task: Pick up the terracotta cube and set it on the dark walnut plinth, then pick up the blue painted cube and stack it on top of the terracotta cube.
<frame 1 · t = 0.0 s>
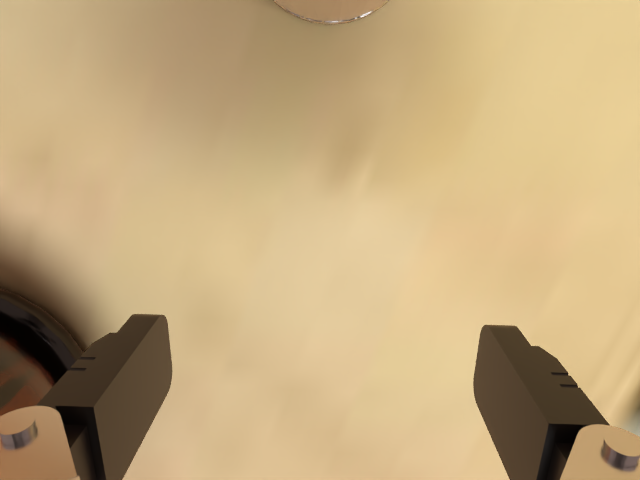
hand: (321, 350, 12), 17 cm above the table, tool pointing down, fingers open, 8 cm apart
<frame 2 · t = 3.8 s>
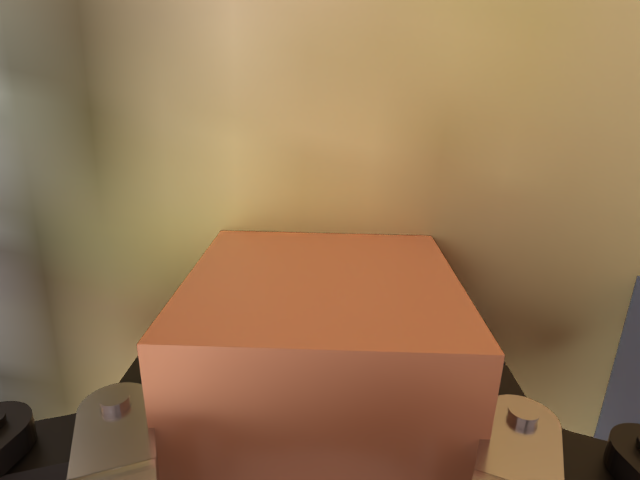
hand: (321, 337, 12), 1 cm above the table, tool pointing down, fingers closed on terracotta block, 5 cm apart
terracotta block: (323, 326, 13), on the table, touching gripper
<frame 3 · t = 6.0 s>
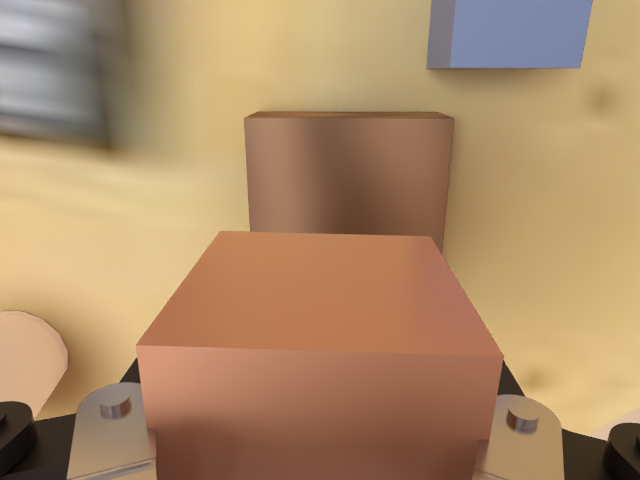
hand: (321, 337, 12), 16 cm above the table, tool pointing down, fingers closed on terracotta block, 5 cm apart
plinth: (345, 199, 28), on the table
terracotta block: (322, 326, 13), point 15 cm above the table, touching gripper
foam cup: (24, 349, 32), on the table
blue block: (483, 12, 24), on the table
when the fingers open (5 cm above the table, at t = 8.4 s): terracotta block stays where it is, resting on plinth.
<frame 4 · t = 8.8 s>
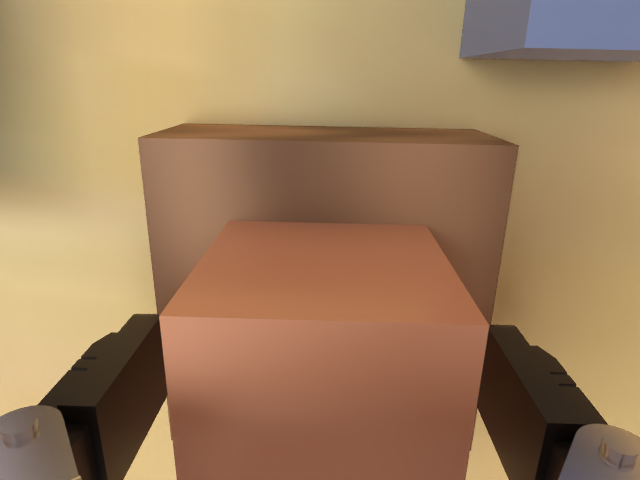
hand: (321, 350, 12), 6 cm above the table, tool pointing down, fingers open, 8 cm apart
plinth: (325, 261, 18), on the table
terracotta block: (325, 311, 14), point 4 cm above the table, touching plinth
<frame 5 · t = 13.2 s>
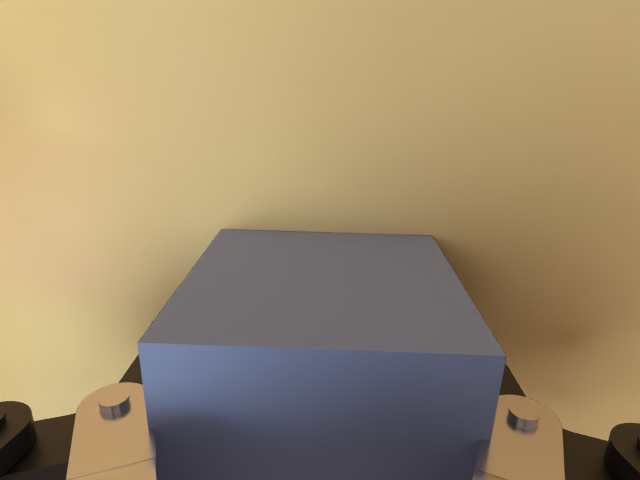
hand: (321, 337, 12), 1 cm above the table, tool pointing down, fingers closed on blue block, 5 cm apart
blue block: (323, 325, 13), on the table, touching gripper
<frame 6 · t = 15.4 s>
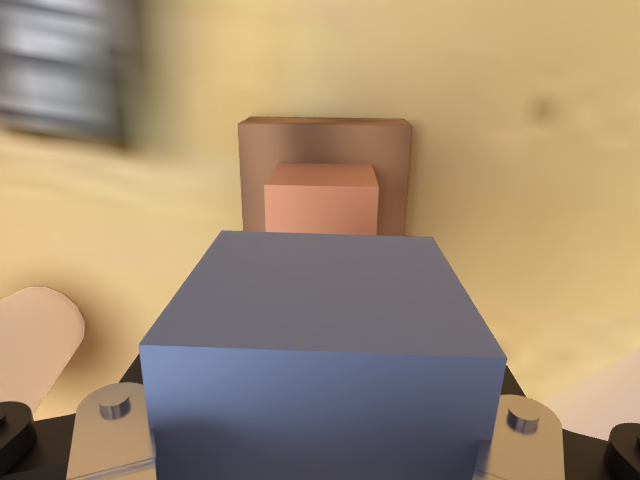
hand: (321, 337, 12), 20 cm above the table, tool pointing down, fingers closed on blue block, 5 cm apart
plinth: (325, 192, 32), on the table
terracotta block: (324, 208, 28), point 4 cm above the table, touching plinth
foam cup: (47, 320, 37), on the table
blue block: (323, 326, 13), point 20 cm above the table, touching gripper
when the fingers open (11 cm above the table, at t = 18.1 s): blue block stays where it is, resting on terracotta block.
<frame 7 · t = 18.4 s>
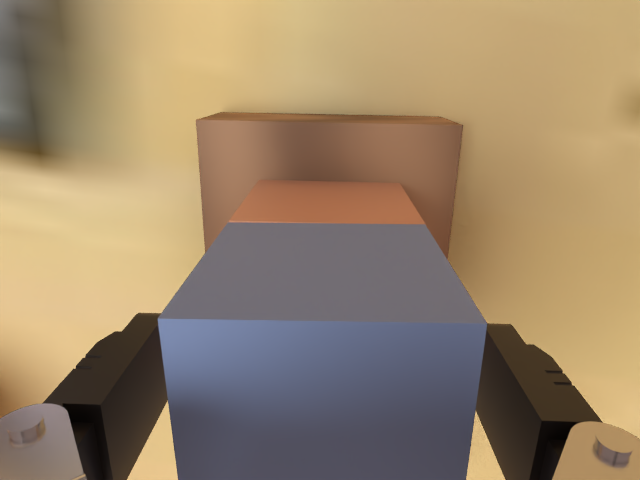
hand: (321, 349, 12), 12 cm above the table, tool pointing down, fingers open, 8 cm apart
plinth: (327, 219, 23), on the table
terracotta block: (327, 247, 19), point 4 cm above the table, touching blue block, plinth
blue block: (325, 311, 14), point 9 cm above the table, touching terracotta block
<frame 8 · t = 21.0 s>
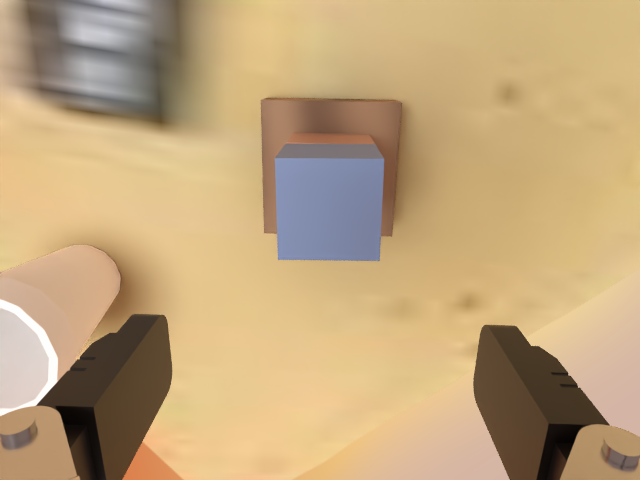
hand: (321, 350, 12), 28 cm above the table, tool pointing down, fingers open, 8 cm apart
plinth: (329, 162, 38), on the table
terracotta block: (330, 171, 35), point 4 cm above the table, touching blue block, plinth
foam cup: (87, 275, 43), on the table
blue block: (329, 187, 29), point 9 cm above the table, touching terracotta block
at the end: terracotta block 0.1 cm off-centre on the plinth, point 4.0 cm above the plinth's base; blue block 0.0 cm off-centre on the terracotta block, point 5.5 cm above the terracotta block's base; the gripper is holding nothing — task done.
